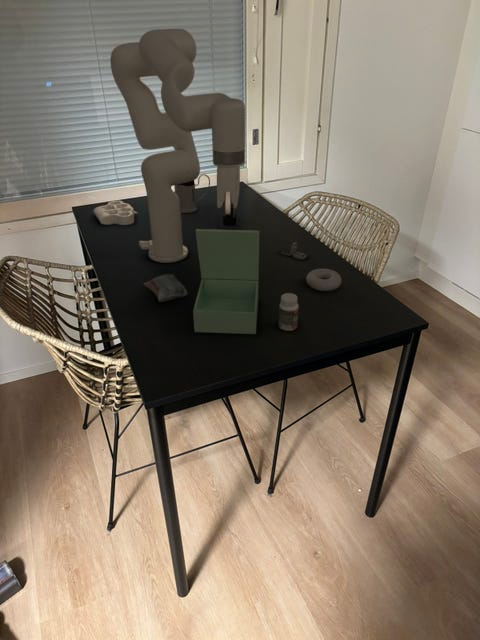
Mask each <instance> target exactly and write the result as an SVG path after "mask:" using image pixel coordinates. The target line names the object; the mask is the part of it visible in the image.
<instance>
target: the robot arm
mask: <svg viewBox="0 0 480 640" xmlns="http://www.w3.org/2000/svg"><path fill="white" fill-rule="evenodd" d="M196 57H197V43H196V41H195V39H194V37H193V35H192V33H190V32H189V31H188V30H186V29H184V28H164V29H162V28H161V29H160V28H159V29H151V30H149V31H146V32H145V33H143V35H142V36H141V37H140V39H139V41H137V42H125V43H121V44H119V45H117V46H115V47H114V48H113V49H112V51H111V54H110V69H111V73H112V77H113V80H114V82H115V84H116V87H117V88H118V90H119V92H120V94H121V95H122V98H123V100H124V101H125V103H126V107H127V110H128V114H129V117H130V120H131V124H132V128H133V131H134V135H135V138H136V140H137V142H138V144H139V146H140V147H141V149H143V150H148V151H152V150H153V151H154V150H158V149H159V150H160V149H164V148H170V147H172V148H173V149H174V150H170V151H162V152H158V153H153V154H150V155H148V156H146V157H145V158H144V159H142V162H141V164H140V171H141V173H140V174H141V176H142V180H143V183H144V187H145V192H146V198H147V207H148V215H149V226H150V234H151V239H149V240H139V242H138V246H139V247H140V248H141V250H145V251H146V250H148V252H147V253H148V258H149V259H150V260H152V261H154V262H158V263H162V264H163V263H164V264H166V263H167V264H169V263H176V262H179V261H182V260H184V259H186V257H188V255H189V249H188V247H186V246H185V245H184V244H183V227H182V213H181V212H180V201H179V198H178V196H177V195H176V194H175V190H173V189H172V187H173V186H174V185H177V184H181V183H186V182H190V181H193V180H194V181H195V180H196V179H197V180H198V178H199V176H200V173H201V165H200V160H199V156H198V152H197V147H196V145H195V141H194V137H193V134H192V133H193V132H197V131H198V132H199V131H203V130H211V144H212V145H211V147H212V164H213V166H216V208H217V209H220V208H223V210H222V212H223V216H222V225H236V226H237V214H236V213H237V212H236V211H237V208H238V204H239V199H240V198H239V197H240V186H241V167H242V166H245V164H246V105H245V102H244V101H243V100H242V99H239V98H235V97H230V96H228V95H227V94H225V93H222V92H212V93H203V94H192V95H184V94H183V92H185V91H186V90H187V89H188V88H189V87H190V86H191V84H192V83H193V80H194V78H195V72H196V71H195V70H196V69H195V66H194V64H193V63H194V62H195V60H196ZM153 77H157V78H158V79H159V81H160V82H161V87H160V97H161V103H162V107H163V109H164V112H163V111H161V110H160V107H159V104H158V101H157V97H156V95H155V92H154V91H152V89H151V88H150V87H149V86H148V85H147V84H146V83H145V82H144V81H142V80H141V78H153Z"/></svg>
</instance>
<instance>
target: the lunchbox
mask: <svg viewBox="0 0 480 640" xmlns="http://www.w3.org/2000/svg"><path fill="white" fill-rule="evenodd" d="M259 284H260V283H259V280H236V279H203V278H201V280H200V284H199V287H198V291H197V295H196V299H195V302H194V306H193V310H192V318H193V331H194V333H210V334H211V333H212V334H213V333H214V334H238V335H239V334H241V335H242V334H243V335H256V334H257V326H258V325H257V324H258V307H259Z"/></svg>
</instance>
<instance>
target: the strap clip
mask: <svg viewBox="0 0 480 640" xmlns="http://www.w3.org/2000/svg"><path fill="white" fill-rule="evenodd" d="M297 249H298V242H292V244H291V246H290V249H287V248H284V249H282V250H281V251H280V253H281V254H282V255H285V256H287V257H288V256H289V257H290V256H292V258H293V259H297V260H301V261H302V260H305V259H306V258H307V257H308V256H307V254H305V253H303V252H300V251H297Z"/></svg>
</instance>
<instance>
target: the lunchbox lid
mask: <svg viewBox="0 0 480 640" xmlns="http://www.w3.org/2000/svg"><path fill="white" fill-rule="evenodd" d="M195 238H196V246H197V254H198V255H197V256H198V262H199V270H200V278H201V279H216V280H249V281H259V280H260V279H259V277H260V266H259V265H260V230H255V229H254V230H253V229H251V230H249V229H242V225H237V224H236V225H223V224H216V226H215V228H214V229H213V228H208V229H207V228H195Z"/></svg>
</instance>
